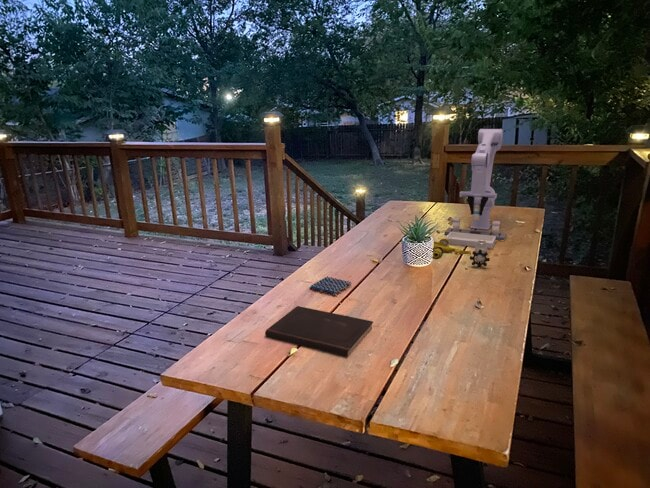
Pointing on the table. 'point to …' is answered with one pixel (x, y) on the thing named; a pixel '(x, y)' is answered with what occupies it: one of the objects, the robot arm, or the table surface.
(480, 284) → the table surface
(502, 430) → the table surface
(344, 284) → the woven mat
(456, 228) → the cartridge
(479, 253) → the valve
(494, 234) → the cylinder
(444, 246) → the sprinkler
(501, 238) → the holder
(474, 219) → the marked cartridge
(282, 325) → the hardcover book
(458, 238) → the tray
